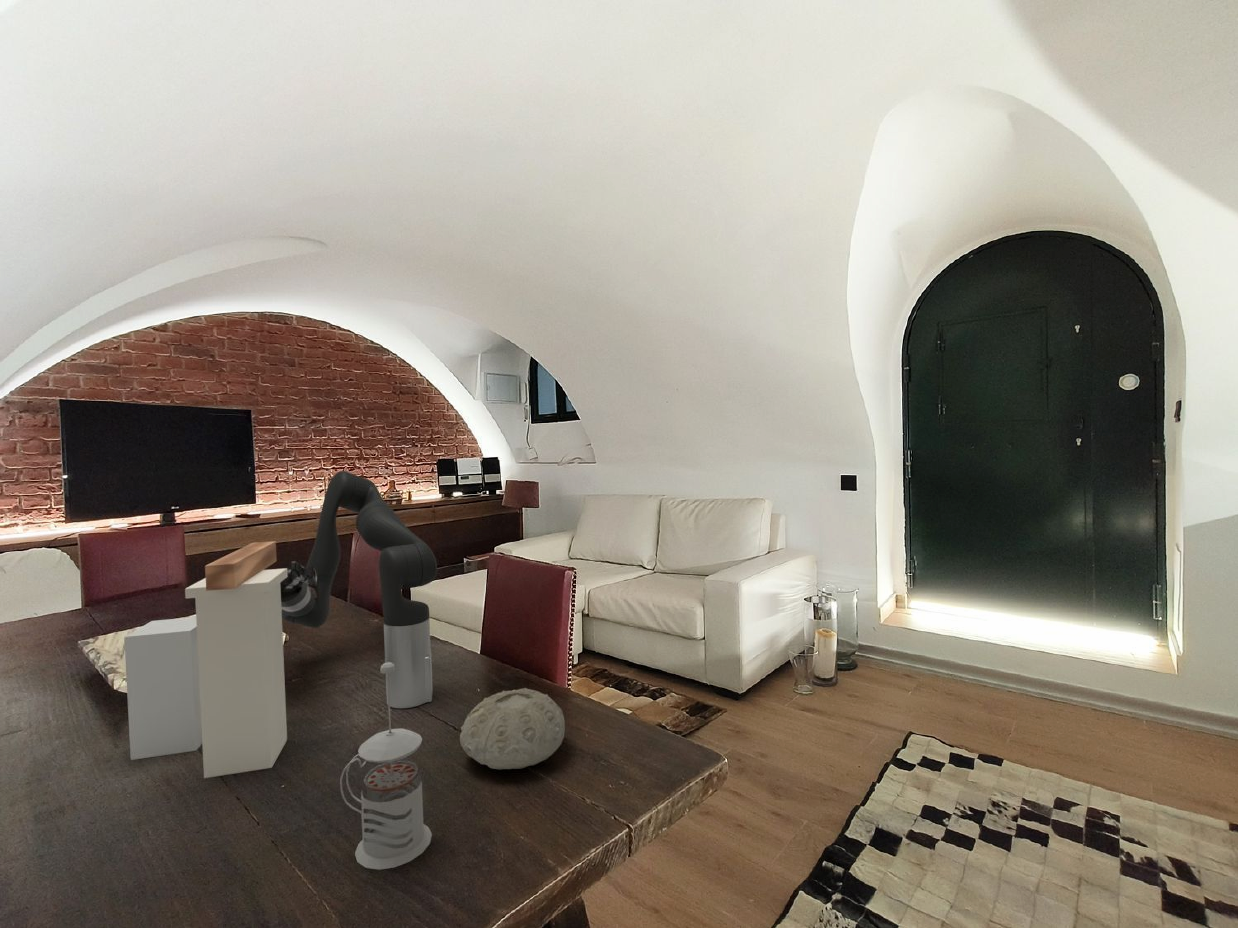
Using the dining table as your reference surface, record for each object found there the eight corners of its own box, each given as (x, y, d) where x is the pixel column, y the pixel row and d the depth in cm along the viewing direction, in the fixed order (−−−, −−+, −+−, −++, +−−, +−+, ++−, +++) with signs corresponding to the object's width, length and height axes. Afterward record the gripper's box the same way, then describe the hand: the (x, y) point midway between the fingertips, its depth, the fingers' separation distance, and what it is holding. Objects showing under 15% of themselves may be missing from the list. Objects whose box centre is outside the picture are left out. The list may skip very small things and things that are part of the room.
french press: (416, 869, 75) (409, 676, 75) (327, 869, 76) (319, 677, 75) (441, 820, 85) (435, 649, 84) (362, 820, 86) (355, 650, 85)
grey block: (217, 725, 117) (211, 615, 116) (196, 750, 107) (190, 630, 106) (157, 733, 114) (151, 620, 113) (130, 759, 104) (124, 636, 104)
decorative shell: (481, 797, 91) (479, 733, 90) (448, 748, 106) (446, 693, 106) (583, 761, 100) (581, 703, 100) (539, 721, 115) (538, 670, 115)
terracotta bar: (276, 561, 118) (275, 541, 118) (234, 588, 95) (233, 563, 95) (254, 562, 117) (253, 542, 117) (206, 590, 94) (205, 565, 94)
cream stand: (294, 736, 111) (287, 568, 110) (276, 769, 100) (268, 582, 99) (221, 746, 108) (213, 573, 107) (194, 782, 97) (185, 588, 96)
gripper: (256, 577, 134) (232, 552, 120) (325, 572, 137) (309, 547, 124) (252, 610, 130) (227, 588, 116) (322, 604, 134) (307, 581, 120)
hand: (269, 567), depth 120 cm, fingers open, 8 cm apart
